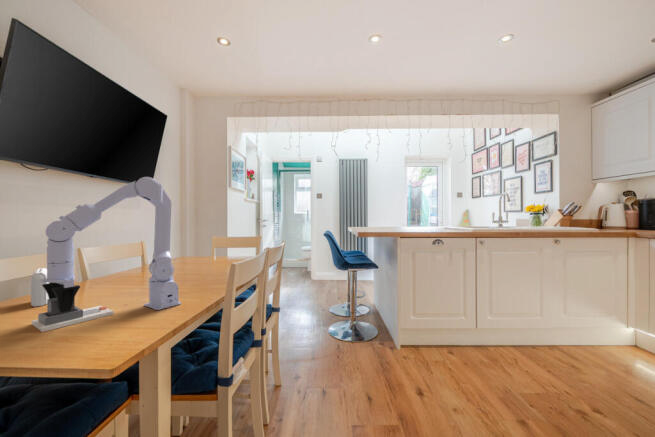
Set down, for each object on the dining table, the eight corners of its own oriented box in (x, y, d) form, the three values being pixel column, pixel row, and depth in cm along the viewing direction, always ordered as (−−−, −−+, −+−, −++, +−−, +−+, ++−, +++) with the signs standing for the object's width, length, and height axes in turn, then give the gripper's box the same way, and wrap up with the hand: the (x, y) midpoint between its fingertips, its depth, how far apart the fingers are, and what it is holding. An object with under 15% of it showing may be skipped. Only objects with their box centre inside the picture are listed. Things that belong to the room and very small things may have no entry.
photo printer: (35, 300, 100) (34, 267, 100) (51, 298, 103) (51, 265, 103) (29, 308, 92) (29, 271, 92) (47, 305, 95) (47, 269, 95)
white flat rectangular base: (113, 314, 87) (113, 304, 87) (41, 332, 73) (41, 320, 73) (100, 308, 92) (100, 299, 92) (31, 324, 79) (31, 313, 79)
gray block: (74, 317, 81) (74, 297, 81) (51, 322, 77) (51, 301, 77) (70, 314, 83) (70, 295, 83) (47, 320, 79) (47, 299, 79)
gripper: (34, 261, 80) (34, 308, 81) (49, 266, 73) (49, 317, 73) (66, 258, 86) (66, 301, 87) (83, 263, 79) (83, 310, 79)
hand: (61, 308), depth 80 cm, fingers open, 7 cm apart
